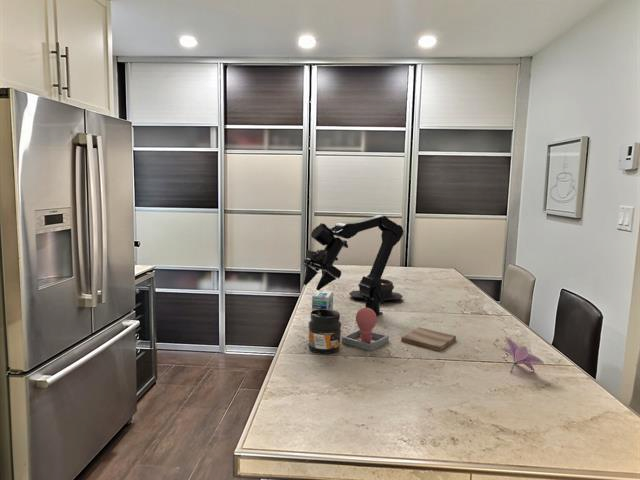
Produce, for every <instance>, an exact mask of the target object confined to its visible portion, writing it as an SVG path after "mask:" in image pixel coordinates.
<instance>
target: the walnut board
mask: <svg viewBox="0 0 640 480" xmlns="http://www.w3.org/2000/svg"><path fill="white" fill-rule="evenodd" d="M456 340H457V336H456V335H454V334H449V333H445V332H441V331H436V330H431V329H427V328H423V327H417V328H415V329H413V330H411V331H410V332H408V333H405V335H403V336H401V338H400V342H403V343H406V344H410V345H415V346H417V347H418V346H419V347H421V348H426V349H430V350H433V351H438V352H441V351H443V350H444V349H446V348H447V347H448V346H449V344H450V345H451V344H452V343H454V342H455V341H456ZM453 341H454V342H453Z"/></svg>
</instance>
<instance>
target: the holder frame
mask: <svg viewBox="0 0 640 480" xmlns="http://www.w3.org/2000/svg"><path fill="white" fill-rule="evenodd" d="M360 335H361V333H360V329H359V328H358V329H356V330H354V331H351V332H349V333H348V334H345V335H343V336H341V343H342V344H344V345H345V344H346V345H348V346H352V347H356V348H359V349H362V350H365V351H370V352H372V351H374V350H376V349H378V348H380V347H382V346H383V345H385V344H387V343H389V339H390V337H389V335H387V334H382V333H379V332H375V331H372V333H371V335H372V339H374V340H375V341H374V342H371V343H370V342H363V341H361V340H357V339H355V338H357V337H359V336H360ZM360 337H361V336H360Z"/></svg>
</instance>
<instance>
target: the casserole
mask: <svg viewBox="0 0 640 480" xmlns="http://www.w3.org/2000/svg"><path fill="white" fill-rule="evenodd" d="M361 281H362V279H361V280H360V281H359V284H360V283H361ZM359 284H358V285H357V286H358V288H360V285H359ZM381 285H382V286H381V290H380V291H381V292H382V293H383V294H384V296H385V299H384V301H383V302H386V301H391V300H393V301H394V300H396V301H397V300H401V299H402V298H403V295H402V294H401V293H399V292H396V291H395V292H394V291H393V290H394V289H395V286H394V284H393V281H391V280H388V279H383V278H381ZM348 294H349V296H350V297H353V298H357V299H363V300H365V301H366V299H365V298H363V297H362V294H361V292H360V290H359V289H357V290H351V291H350V292H349V293H348Z"/></svg>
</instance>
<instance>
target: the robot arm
mask: <svg viewBox="0 0 640 480" xmlns="http://www.w3.org/2000/svg"><path fill="white" fill-rule="evenodd" d="M373 228H378V229H379V230H380V231H381V235H380V236H381V245H380V246H379V250H378V252H377V254H376V256H375V259H374V262H373V265H372V267H371V269H370V272H369V274H368V275H366V276H364V275H363V276H362V278H361V280H362V281H361V280H360V281H361V283H360V282H359V283H360V284H359V285H360V288H359V287H358V288H359V289H358V290H360V292H361V294H362V297H363V298H365V299H366V300H365V299H364V300H365V307H364V308H370V309H372V310H373V311H374V312H375V313H376V316H377V317H379V316H381V315H383V314H384V313H383V312H382V311H381V303H383V302H385V301H384V299H385V296H384V294H383V293H382V292H381V291H380V290H381V286H382V285H381V279H382V276H383V275H384V271H385V269H386V267H387V264H388V262H389V258H390V256H391V253H392V251H393V248H394V247H395V246H396V245H397V244H398V243H399V242H400V241H401V239H402V237H403V235H404V230H403V229H404V228H403V226H402V225H400V224H397V223H396V222H395V221H392V220H391V219H389V218H388V217H387V216H386V215H381V214H376V215H374V216H372V217H367V218H363V219H359V220H357V221H346V222H344V221H343V222H342V221H341V222H337V223H335V225H334V226H333V227H331V228H330V227H329V226H327V224H326V223H324V222H323V223H322V222H320V224H318V225H317V226H316V227H314V228H313V229H312V230H311V234H310V235H311V238H312V239H313V240H315V241H316V242H317V243H318V244H320V245H321V246H323V247H324V246H325V247H324V249H317V250H316V251H315V250H311V249H307V250H306V255H305V259H304V260H303V262H302V263H303V264H304V265H303V266H304V268H305V274H304V279H303V285H304V286H307V285H308V284H309V283H310V282H311V281H312V280H313V279H314V278H315V277H316V276H317V275H318V274H319V271H320V270H321V277H320V279H319V282H318V283H317V285H316V288H315V290H316V291H317V290H321V289H322V288H324V287H326V286H328V285H329V284H330V283H332V282H333V281H336V280H337V279H338V280H339V279H340V278H341V276H342V271H341V269H339V268H338V267H336V266H334V263H335V262H338V261H339V258H338V256H339V254H340V252H341V250H342V249H343V248H344V249H348V248H349V245H348V241H347V240H348V239H351V238H353V237H355V236H357V234H358V233H360V232H364V231H367V230H370V229H373ZM343 239H347V240H343ZM363 298H362V299H363Z"/></svg>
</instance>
